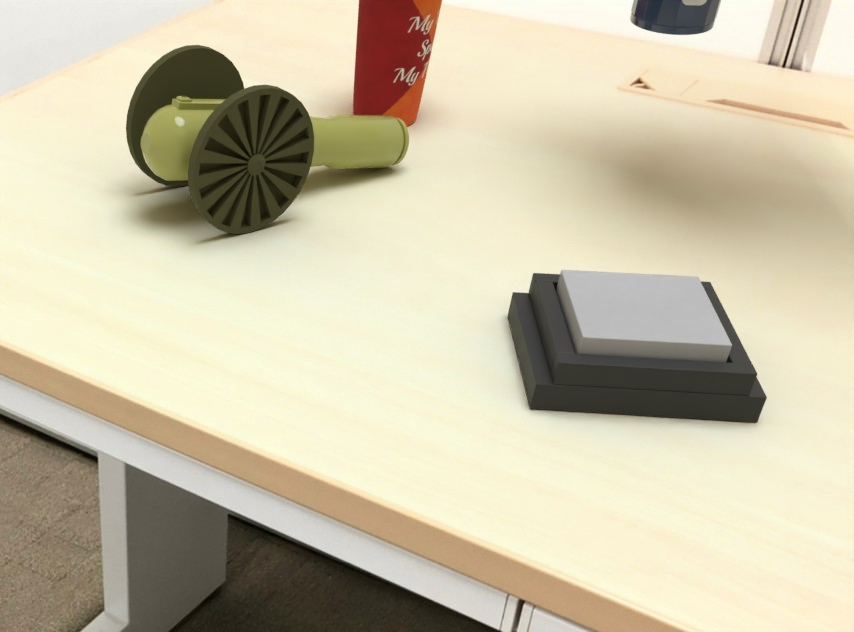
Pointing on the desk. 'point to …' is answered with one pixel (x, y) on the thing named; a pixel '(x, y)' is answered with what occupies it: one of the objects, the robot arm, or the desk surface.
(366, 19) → the coffee cup
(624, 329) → the pan
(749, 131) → the desk surface
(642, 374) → the scale
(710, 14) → the small cup
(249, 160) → the cannon
